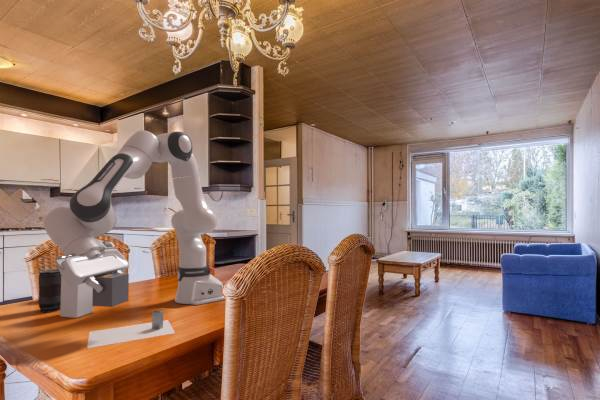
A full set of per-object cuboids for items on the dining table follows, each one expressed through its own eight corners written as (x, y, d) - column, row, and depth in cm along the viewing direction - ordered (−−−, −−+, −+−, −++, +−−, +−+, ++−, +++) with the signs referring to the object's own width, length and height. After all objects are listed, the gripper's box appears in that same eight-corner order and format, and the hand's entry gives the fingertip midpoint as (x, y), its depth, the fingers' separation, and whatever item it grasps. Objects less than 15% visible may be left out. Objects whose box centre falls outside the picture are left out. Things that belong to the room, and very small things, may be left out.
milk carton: (76, 318, 116) (78, 264, 117) (59, 317, 117) (61, 263, 118) (93, 312, 123) (94, 261, 124) (77, 311, 124) (78, 260, 125)
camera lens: (47, 307, 130) (48, 269, 130) (68, 306, 130) (69, 268, 131) (32, 313, 122) (33, 272, 122) (55, 313, 122) (56, 272, 123)
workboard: (167, 324, 109) (167, 319, 110) (175, 338, 97) (175, 332, 97) (89, 336, 98) (89, 331, 98) (86, 354, 86) (86, 348, 86)
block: (109, 299, 99) (110, 272, 100) (128, 300, 98) (128, 272, 98) (92, 305, 93) (92, 276, 93) (111, 306, 92) (112, 276, 92)
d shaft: (157, 326, 103) (157, 310, 104) (164, 326, 103) (165, 310, 103) (152, 328, 101) (152, 312, 101) (159, 329, 100) (159, 312, 101)
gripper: (58, 249, 87) (89, 288, 85) (116, 242, 107) (142, 273, 105) (44, 266, 88) (75, 304, 86) (104, 255, 108) (130, 286, 106)
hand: (112, 287), depth 96 cm, fingers closed on block, 6 cm apart
